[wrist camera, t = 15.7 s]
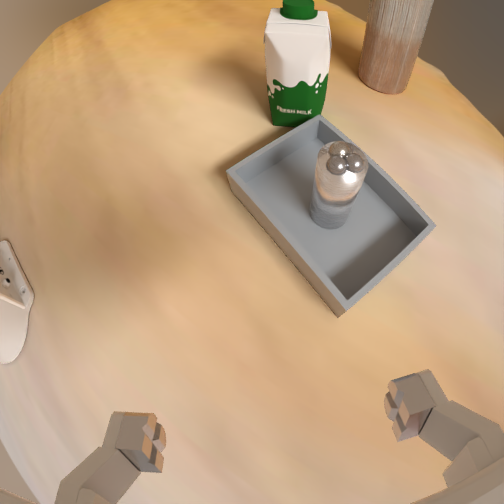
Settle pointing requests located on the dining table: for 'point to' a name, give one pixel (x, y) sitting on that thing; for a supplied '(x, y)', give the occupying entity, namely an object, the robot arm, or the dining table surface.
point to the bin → (324, 240)
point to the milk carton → (296, 61)
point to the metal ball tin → (336, 183)
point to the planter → (392, 43)
